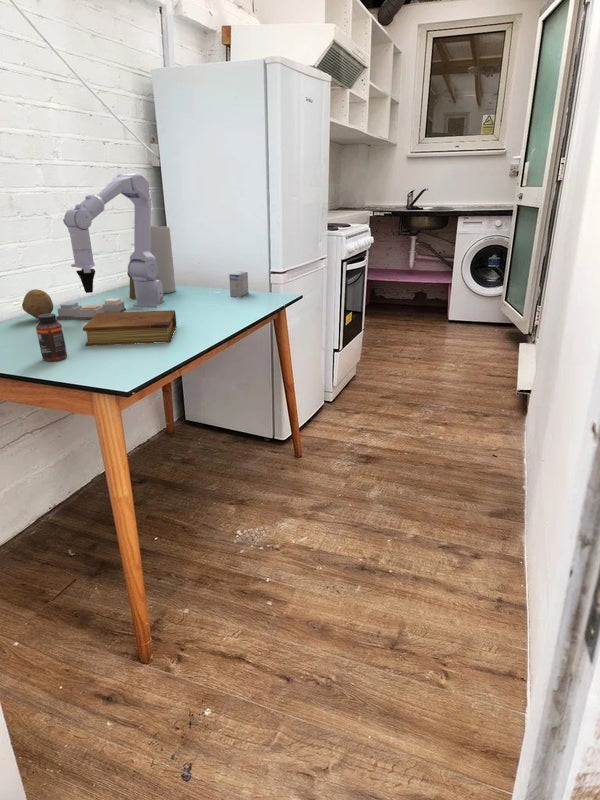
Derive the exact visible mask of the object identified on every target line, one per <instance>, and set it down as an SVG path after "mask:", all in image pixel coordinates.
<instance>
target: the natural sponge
mask: <svg viewBox="0 0 600 800" xmlns="http://www.w3.org/2000/svg"><path fill="white" fill-rule="evenodd" d="M21 307H22V309H23V311H24V312H25V313H27V314H29V315H31V317H34V318H35V319H37V320H38V316H39V315H42V314H48V313H52V312H53V310H54V303H53V300H52V298H51V296H50V295H49V294H48V293H47V292H46V291H44V290H41V289H37V288H35V289H30V290H29V291H28V292H27V293H26V294H25V296H24V297H23V301H22V303H21Z"/></svg>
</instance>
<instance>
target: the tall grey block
mask: <svg viewBox="0 0 600 800" xmlns="http://www.w3.org/2000/svg"><path fill="white" fill-rule="evenodd" d="M170 227H171V226H163V225H162V226H160V225H158V226H157V225H156V226H153V225H151V248H150V252H151V254H152V255H153V256H154V257H155V258H156V264H157V267H158V274H157V276H156V279H155V280H160V281H161V283H162V288H163V293H167V294H171V293H174V292H175V291H176V281H175V280H176V279H175V270H174V269H175V268H174V259H173V249H172V247H173V246H172V238H171V237H172V236H171V228H170ZM141 261H144V260H141ZM170 292H171V293H170Z"/></svg>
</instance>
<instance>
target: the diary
mask: <svg viewBox="0 0 600 800" xmlns="http://www.w3.org/2000/svg"><path fill="white" fill-rule="evenodd" d="M176 325H177V315H176V309H170V310H169V309H167V310H145V311H144V310H142V311H141V310H140V311H139V310H138V311H124V312H110V313H97V314H96V315H95V316H94V317H93V318H92V319H91V320H88V321H87V323H86V324H85V325H83V326H82V331H83V332H86V336H87V342H86V343H85V344H84V345H85V347H90V346H91V347H94V346H93V345H97V346H114V345H115V344H121V345H138V344H137V343H145V344H155V343H154V342H168V343H171V342H172V340H173V337H174V334H175V332H176V329H175V328H177V326H178V325H177V326H176ZM174 331H175V332H174ZM173 333H174V334H173ZM172 336H173V337H172ZM171 339H172V340H171ZM135 343H136V344H135ZM115 346H116V345H115Z"/></svg>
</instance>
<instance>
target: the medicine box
mask: <svg viewBox="0 0 600 800" xmlns="http://www.w3.org/2000/svg"><path fill="white" fill-rule="evenodd" d="M228 276H229V277H228V280H229V294H230V295H229V296H230V297H231V298H232V297H233V298H243V296H245V295H247V294H249V276H248V272H247V271H244V270H243V271H241V270H240V271H235V272H232V273H230V274H229V275H228Z"/></svg>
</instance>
